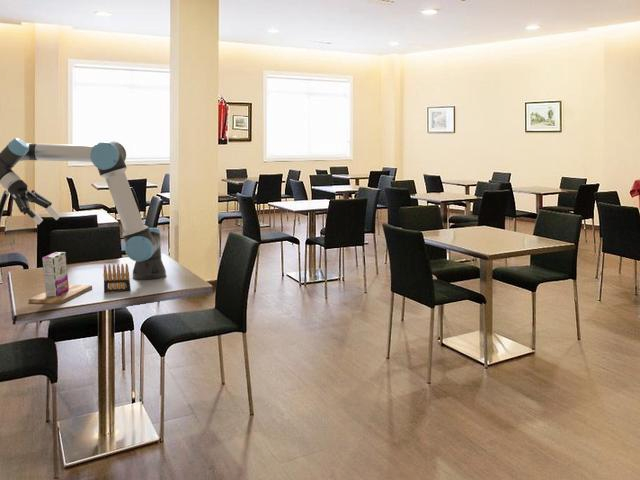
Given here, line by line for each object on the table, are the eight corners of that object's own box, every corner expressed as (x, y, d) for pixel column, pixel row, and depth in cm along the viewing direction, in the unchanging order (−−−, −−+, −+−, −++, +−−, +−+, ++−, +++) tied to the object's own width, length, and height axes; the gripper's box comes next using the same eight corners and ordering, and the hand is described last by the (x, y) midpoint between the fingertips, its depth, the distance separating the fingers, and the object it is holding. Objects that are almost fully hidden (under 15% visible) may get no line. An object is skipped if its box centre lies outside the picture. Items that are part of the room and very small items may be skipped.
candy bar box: (57, 290, 254) (54, 251, 252) (69, 290, 254) (66, 251, 252) (44, 297, 243) (41, 257, 241) (57, 297, 243) (53, 257, 241)
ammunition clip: (130, 290, 260) (129, 262, 258) (130, 291, 258) (128, 263, 256) (104, 291, 258) (102, 263, 256) (104, 292, 257) (102, 264, 255)
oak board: (92, 288, 263) (91, 285, 263) (62, 303, 240) (61, 299, 239) (61, 288, 265) (61, 284, 265) (29, 302, 241) (28, 298, 241)
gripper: (26, 188, 274) (60, 222, 274) (-10, 193, 249) (27, 230, 250) (36, 177, 272) (70, 210, 273) (0, 180, 248) (38, 217, 248)
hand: (49, 220), depth 261 cm, fingers open, 13 cm apart
